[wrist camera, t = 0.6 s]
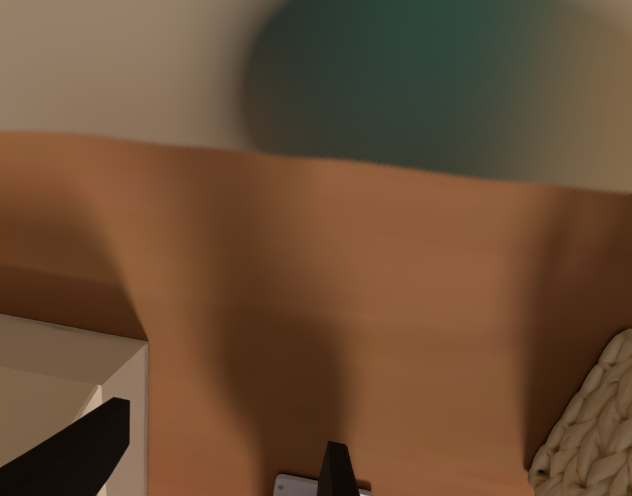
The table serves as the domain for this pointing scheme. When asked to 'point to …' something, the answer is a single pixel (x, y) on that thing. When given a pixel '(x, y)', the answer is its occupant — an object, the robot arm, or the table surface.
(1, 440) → the carton flap
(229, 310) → the table surface
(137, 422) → the carton
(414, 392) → the table surface
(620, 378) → the storage basket
